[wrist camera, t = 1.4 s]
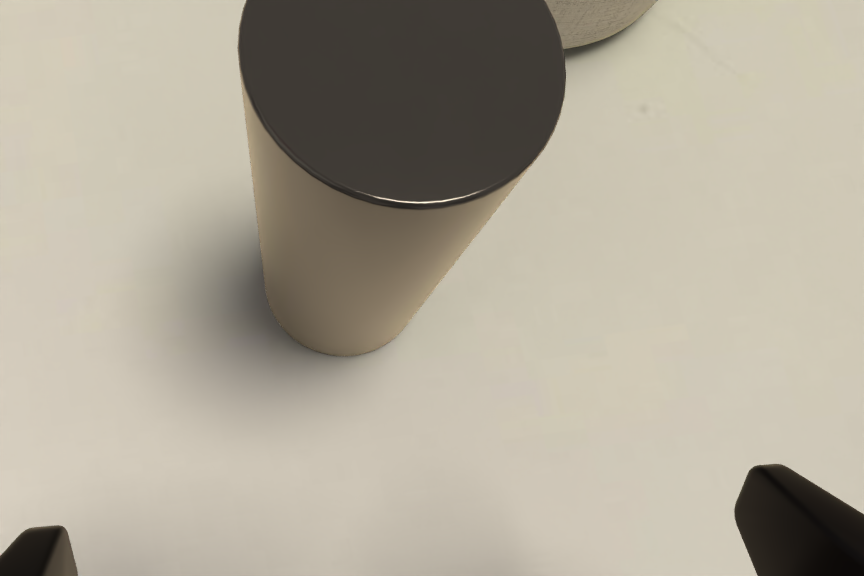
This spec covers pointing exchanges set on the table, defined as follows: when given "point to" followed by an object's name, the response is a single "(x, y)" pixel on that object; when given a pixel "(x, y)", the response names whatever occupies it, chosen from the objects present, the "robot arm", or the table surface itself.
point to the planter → (594, 18)
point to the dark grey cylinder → (386, 147)
